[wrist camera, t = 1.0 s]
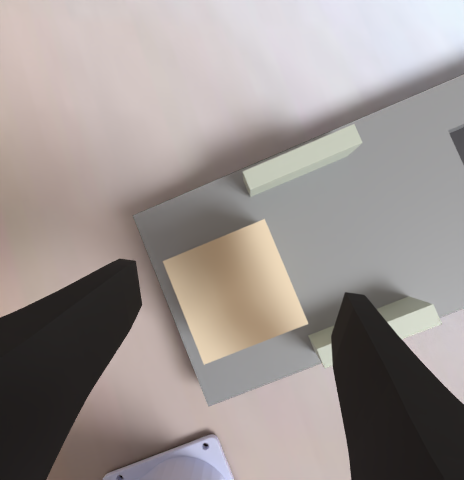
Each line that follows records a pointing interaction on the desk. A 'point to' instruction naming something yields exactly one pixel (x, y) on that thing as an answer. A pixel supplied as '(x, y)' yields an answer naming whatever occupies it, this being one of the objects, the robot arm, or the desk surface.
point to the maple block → (235, 292)
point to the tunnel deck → (336, 231)
